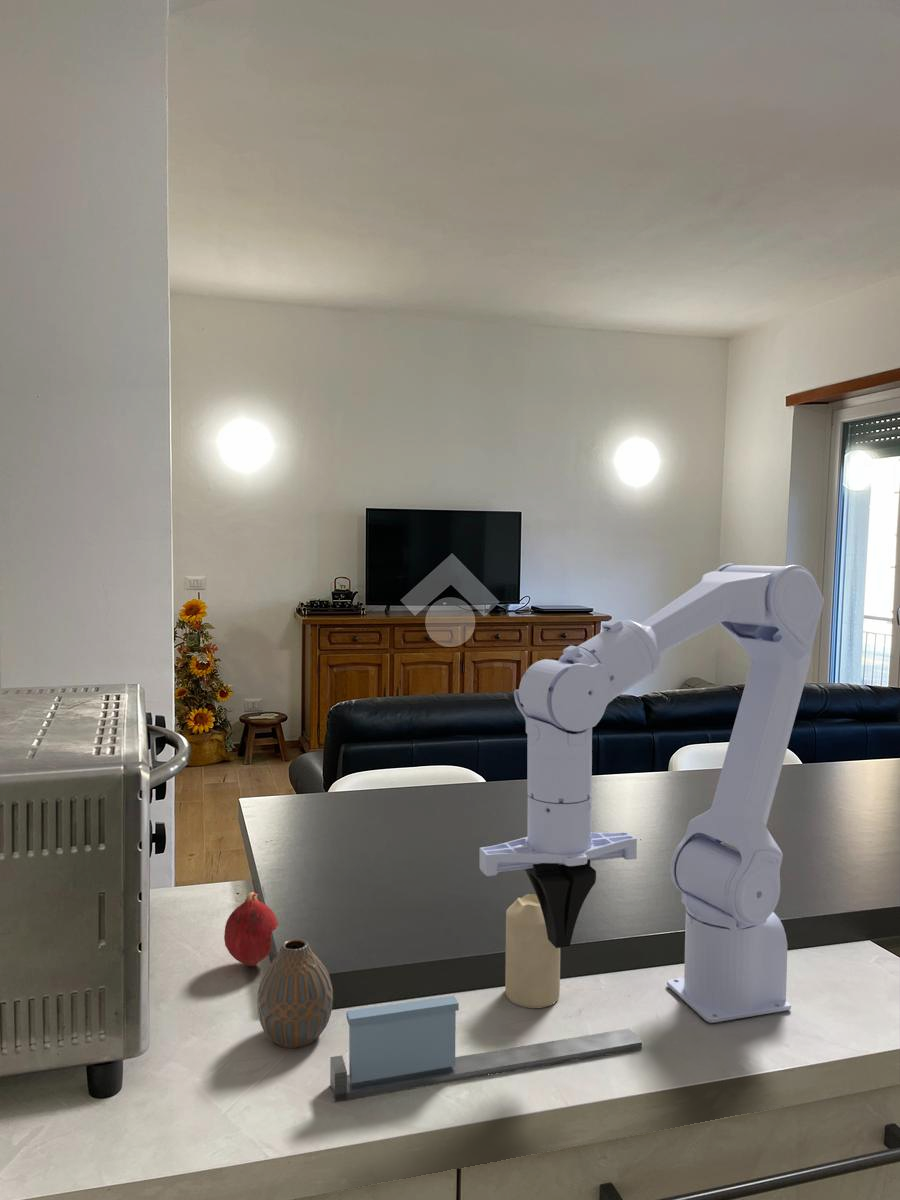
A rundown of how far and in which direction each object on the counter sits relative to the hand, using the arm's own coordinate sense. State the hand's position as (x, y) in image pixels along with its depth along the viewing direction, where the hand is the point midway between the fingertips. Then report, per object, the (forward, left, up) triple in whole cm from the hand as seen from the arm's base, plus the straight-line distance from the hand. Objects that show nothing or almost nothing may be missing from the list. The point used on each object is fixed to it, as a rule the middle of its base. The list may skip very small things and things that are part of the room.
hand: (558, 942), depth 79 cm
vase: (+23, -8, -10) cm, 26 cm away
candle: (-1, -9, -10) cm, 14 cm away
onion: (+26, -23, -10) cm, 36 cm away
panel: (+15, +1, -10) cm, 18 cm away
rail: (+7, +1, -10) cm, 12 cm away
